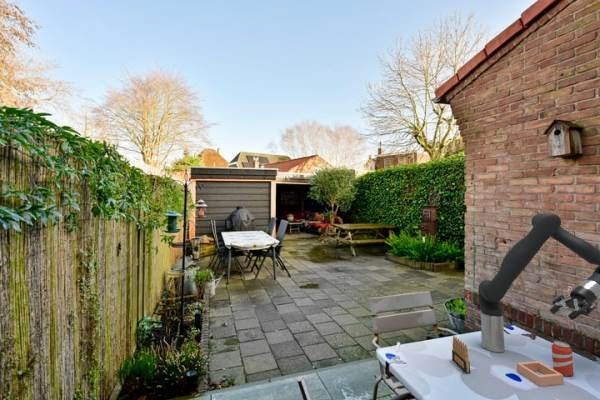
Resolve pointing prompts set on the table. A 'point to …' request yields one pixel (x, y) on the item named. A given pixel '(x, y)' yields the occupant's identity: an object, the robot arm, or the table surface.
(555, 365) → the beverage can
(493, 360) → the table surface
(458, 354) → the ammunition clip
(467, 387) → the table surface
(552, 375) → the terracotta collar
